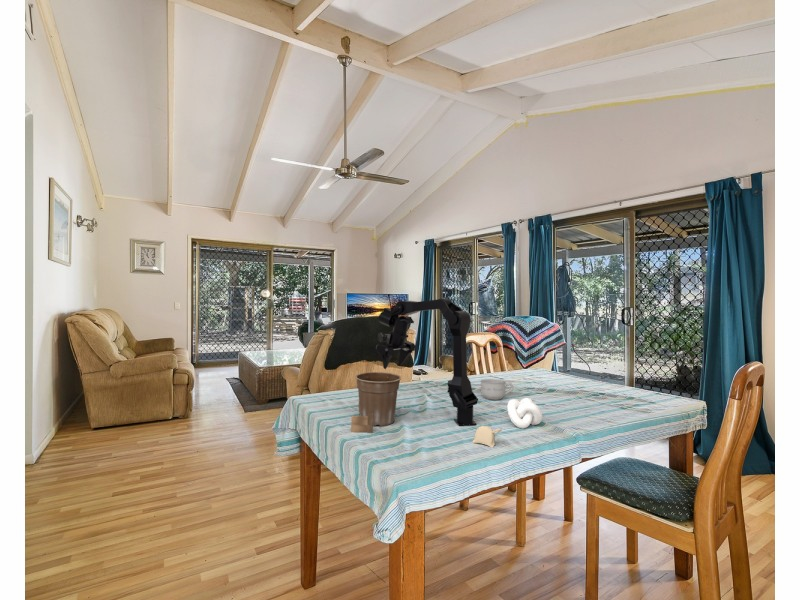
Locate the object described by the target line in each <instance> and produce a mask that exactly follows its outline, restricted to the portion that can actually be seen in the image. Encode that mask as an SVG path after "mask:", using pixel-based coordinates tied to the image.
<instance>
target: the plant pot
mask: <svg viewBox="0 0 800 600" xmlns="http://www.w3.org/2000/svg"><path fill="white" fill-rule="evenodd" d="M355 379H356V385H357V390H358V410H359V409H360V412H359V416H368V413H373V427H375V426H380V427H384V426H389V424H390V425H391V424H393V423H394V422H395V414H396V406H397V398H398V397H397V396H398V391H399V389H400V381H401V379H402V376H400V375H399V374H396V373H391V372H382V371H381V372H380V371H379V372H378V371H377V372H376V371H375V372H374V371H371V372H362V373H358V374H356V375H355Z"/></svg>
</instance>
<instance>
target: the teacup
mask: <svg viewBox="0 0 800 600" xmlns="http://www.w3.org/2000/svg"><path fill="white" fill-rule="evenodd" d="M508 386H510V389H509V390H506V389H507V387H508ZM513 390H514V384H513V383H512V382H509V381H507V382H506V381H505V380H502V379H494V378H485V379H481V380H480V391H481V396H483V397H484V398H485V399H487V400H496V401H498V400H501V399H502V398H503V397H504V396H507V394H509V393H511V392H512V391H513Z"/></svg>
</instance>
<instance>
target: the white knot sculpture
mask: <svg viewBox="0 0 800 600" xmlns="http://www.w3.org/2000/svg"><path fill="white" fill-rule="evenodd" d="M506 406H507V407H506V408H507V409H506V410H507V413H508V417H509V419H510V421H511V423H513V425H515V426H516V428H519V429H527V428H528V427H530V426H531V425H530V424H532V426H536V425H539V424H540V423H541V422H542V421H543V413H542V410H541V408H540V407H539V406H538V405H537V404H536V403H534V402H533V400H532V399H531V398H530V397H524V398H521V399H520V400H518V399H516V398H511V399H510V400H508V402H507V405H506Z"/></svg>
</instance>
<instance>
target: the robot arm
mask: <svg viewBox="0 0 800 600" xmlns="http://www.w3.org/2000/svg"><path fill="white" fill-rule="evenodd" d="M434 310H435V311H437V310H439V311H440V313H441V314H442V317H443V318H444V319H445V320H446V321H447V326H448V329H449V332H450V333H451V335H452V364H453V367H452V369H453V370H452V371H453V373H452V375H453V376H452V379H450V380H447V393H448V396H449V398H450V399H451V403H452V407H454V408H456V418H453V422H455V423H456V424H457V426H463V427H464V426H477V423H476V422H475V421H474V406H476V405H478V402H479V398H478V397H477V396H476V394H475V393H474V392H473V387H472V382H471V380H470V379H469V376H468V367H467V366H468V362H467V361H468V359H467V358H468V357H467V335H468V332H469V330H470V327H471V315H470V314H469V313H468V311H466V310H463V309H462V308H461V307H460V306H458V305H457V304H455V303H454V302H452V301H451V300H450V299H449V298H443V297H442V298H438V299H430V300H422V301H421V300H420V301H415V300H398V301H397V302H396V304H395V306H394V307H393V308H392V309H391V308H389V307H384V308H383V310H382V311H381V312H380V314H379V315H378V322H379V323H380V324H382V325H384V326H387V327H389V328H393V329H392V331H389V333H385V332H378V334H377V340H378V341H379V342H380V343H378V344H376V347H375V351H376V352H377V353H378V354H380V356H381V358H382V359H381V361H382V366H383V369H385V370H387V368H388V366H389V364H390V362H391V360H392V358H393V354H394V351H396V350H398V351H399V355H398V362H397V365H398V366H399V367H401V366H402V365H403V363H404V362H405V361H406V360H407V358H408V357H410V355H411V354H413V352H414V351H416V344H415V343H414V342H412V341H409V340H408V339H407V338H409V334H408V333H407V332H408V329H409V325H410V324H414V323H415V321H414V320H413V318H412V316H411V315H413V314H417V313H419V312H424V311H434ZM406 316H407V317H406ZM406 339H407V340H406Z"/></svg>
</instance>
